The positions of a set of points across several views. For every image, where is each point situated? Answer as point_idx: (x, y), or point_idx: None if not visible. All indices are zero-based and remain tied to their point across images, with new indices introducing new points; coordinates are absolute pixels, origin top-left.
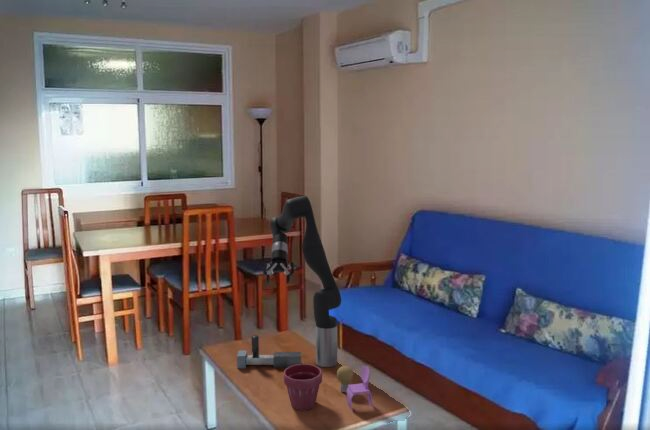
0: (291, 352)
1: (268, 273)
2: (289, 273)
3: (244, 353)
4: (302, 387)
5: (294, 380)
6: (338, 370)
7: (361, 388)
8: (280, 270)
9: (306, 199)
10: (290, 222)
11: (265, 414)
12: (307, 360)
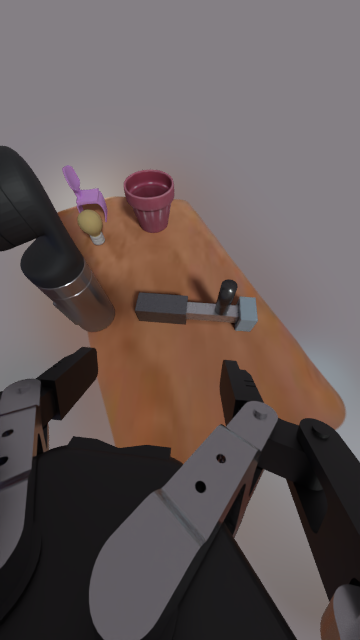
0: (153, 309)
1: (255, 407)
2: (14, 385)
3: (243, 306)
4: (153, 179)
5: (161, 172)
6: (97, 215)
7: (85, 194)
8: (93, 440)
9: None
10: None
11: (195, 211)
12: (126, 328)
